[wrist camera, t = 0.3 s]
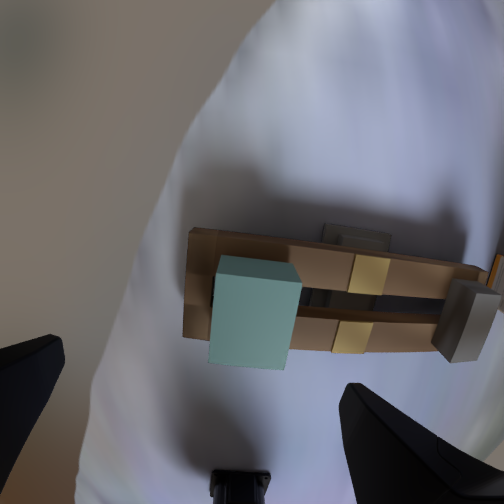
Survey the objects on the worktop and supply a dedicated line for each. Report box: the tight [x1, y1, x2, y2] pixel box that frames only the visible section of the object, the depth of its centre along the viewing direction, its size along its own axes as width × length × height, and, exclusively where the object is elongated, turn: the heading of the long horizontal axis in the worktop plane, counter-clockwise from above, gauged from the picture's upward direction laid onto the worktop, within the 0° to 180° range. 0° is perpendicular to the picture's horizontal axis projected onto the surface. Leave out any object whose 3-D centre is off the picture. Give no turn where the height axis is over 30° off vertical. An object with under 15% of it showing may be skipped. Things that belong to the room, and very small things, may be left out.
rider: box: [208, 255, 302, 370], centre depth 17 cm, size 5×4×5 cm
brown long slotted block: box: [183, 223, 502, 363], centre depth 19 cm, size 9×22×6 cm, turn 82°
